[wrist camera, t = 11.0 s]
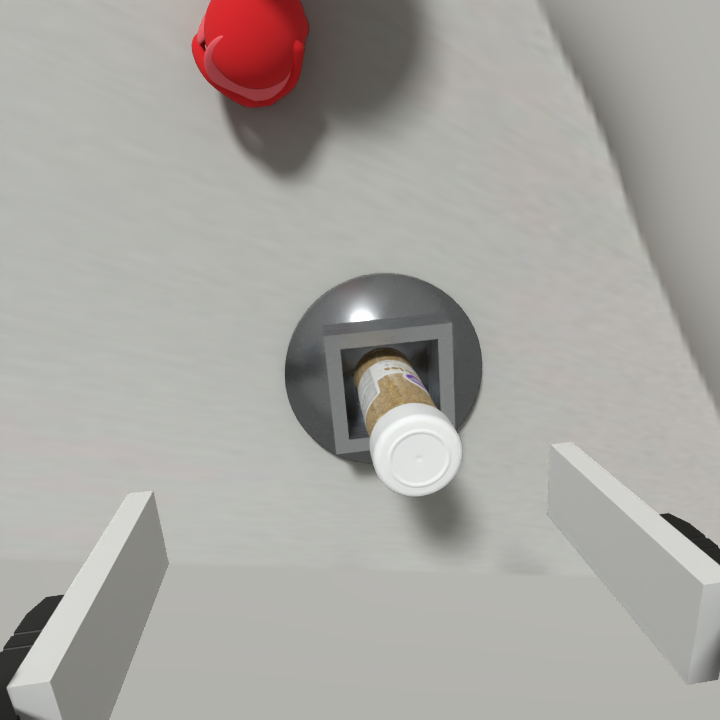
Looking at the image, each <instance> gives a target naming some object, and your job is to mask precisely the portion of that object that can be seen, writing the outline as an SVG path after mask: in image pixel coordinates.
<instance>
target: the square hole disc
mask: <svg viewBox="0 0 720 720" xmlns="http://www.w3.org/2000/svg"><path fill="white" fill-rule="evenodd" d="M377 348H393V349H396V350H399V351H400V352H401V353H403V354H404V355H405V356H406V357H407V358H408V360H409V361H410V363H411V365H412V368H413V370H414V371H415V372H416V374H417V375H418V377H419V379H420V380H421V382H422V384H423V385H424V387H425V388H426V390H427V392H428V393H429V395H430V397H431V400H432V401H433V403H434V404H435V406H436V407H437V409H438V410H440V411H441V412H442V413H443V414H445V415H446V417H447V418H448V419H449V420H450V422H451V423H452V425H453V426H454V428H455V430H457V429H458V427H459V426H460V425H461V424H462V423H463V421H464V420H465V418H466V417H467V415H468V413H469V412H470V410H471V408H472V406H473V404H474V402H475V399H476V396H477V393H478V390H479V386H480V381H481V375H482V357H481V349H480V344H479V340H478V337H477V334H476V332H475V329H474V327H473V325H472V323H471V321H470V320H469V318H468V316H467V315H466V314H465V312H464V311H463V309H462V308H461V307H460V306H459V305H458V304H457V303H456V302H455V301H454V300H453V299H452V298H451V297H450V296H448V295H447V294H446V293H445V292H443V291H442V290H440V289H438V288H437V287H435V286H433V285H431V284H430V283H428V282H425V281H423V280H420V279H418V278H415V277H411V276H407V275H403V274H394V273H375V274H369V275H363V276H360V277H357V278H353V279H350V280H348V281H346V282H343V283H341V284H339V285H337V286H335V287H334V288H332V289H331V290H329V291H327V292H326V293H325V294H323V295H322V296H321V297H320V298H319V299H317V300H316V301H315V302H314V303H313V304H312V305H311V307H310V308H309V309H308V310H307V311H306V312H305V314H304V315H303V317H302V318H301V319H300V321H299V323H298V325H297V327H296V328H295V330H294V332H293V335H292V338H291V340H290V343H289V347H288V352H287V356H286V363H285V384H286V390H287V395H288V399H289V402H290V405H291V407H292V410H293V412H294V414H295V416H296V418H297V420H298V421H299V423H300V424H301V425H302V427H303V428H304V430H305V431H306V432H307V433H308V434H309V435H310V436H311V437H312V438H313V439H314V440H315V441H316V442H318V443H319V444H320V445H321V446H322V447H324V448H326V449H327V450H329V451H331V452H332V453H334V454H336V455H339V456H341V457H343V458H346V459H349V460H352V461H356V462H361V463H367V464H373V462H372V458H371V454H370V444H369V443H370V437H369V434H368V432H367V429H366V425H365V421H364V417H363V413H362V409H361V405H360V401H359V396H358V391H357V388H356V386H355V384H354V371H355V368H356V365H357V363H358V361H359V360H360V359H361V358H362V357H363V356H364V355H365V354H366V353H368V352H369V351H371V350H374V349H377Z"/></svg>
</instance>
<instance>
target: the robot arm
mask: <svg viewBox="0 0 720 720" xmlns="http://www.w3.org/2000/svg"><path fill="white" fill-rule="evenodd" d="M547 515H548V517H549V518H550V519H551V520H552V522H553V523H554V524H555V525H556V526H557V528H558V529H559V530H560V531H561V532H562V534H563V535H564V536H565V537H566V539H567V540H568V541H569V542H570V543H571V545H572V546H573V547H574V548H575V549H576V551H577V552H578V553H579V554H580V556H581V557H582V558H583V559H584V560H585V562H586V563H587V564H588V565H589V566H590V568H591V569H592V570H593V571H594V573H595V574H596V575H597V576H598V577H599V579H600V580H601V581H602V582H603V583H604V585H605V586H606V587H607V588H608V590H609V591H610V592H611V593H612V594H613V596H614V597H615V598H616V599H617V600H618V601H619V603H620V604H621V605H622V607H623V608H624V609H625V610H626V611H627V612H628V614H629V615H630V616H631V617H632V619H633V620H634V621H635V622H636V624H637V625H638V626H639V627H640V628H641V630H642V631H643V632H644V633H645V634H646V636H647V637H648V638H649V639H650V640H651V642H652V643H653V644H654V645H655V646H656V648H657V649H658V650H659V651H660V653H661V654H662V655H663V656H664V657H665V659H666V660H667V661H668V662H669V663H670V665H671V666H672V667H673V668H674V670H675V671H676V672H677V673H678V674H679V676H680V677H681V678H682V679H683V681H684V682H685V683H686V684H687V685H688V684H694V683H700V682H706V681H712V680H718V678H719V672H720V549H719V548H718V546H717V545H716V544H715V543H714V542H712V541H711V540H710V539H709V538H706V537H705V535H704V534H702V533H701V532H700V531H698V530H697V529H696V528H695V527H693V526H692V525H691V524H690V523H688V522H686V521H684V520H682V519H680V518H677V517H675V516H673V515H671V514H669V513H667V514H658V513H656V512H655V511H654V510H653V509H652V508H650V507H649V506H648V505H647V504H646V503H644V502H643V501H642V500H641V499H640V498H638V497H637V496H636V495H635V494H634V493H632V492H631V491H630V490H629V489H628V488H626V487H625V486H624V485H623V484H622V483H620V482H619V481H618V480H617V479H616V478H614V477H613V476H612V475H611V474H610V473H608V472H607V471H606V470H605V469H604V468H602V467H601V466H600V465H599V464H598V463H596V462H595V461H594V460H593V459H592V458H590V457H589V456H588V455H587V454H586V453H584V452H583V451H582V450H581V449H580V448H578V447H577V446H576V445H575V444H573V443H572V442H568V443H560V444H551V445H550V462H549V481H548V501H547ZM168 564H169V562H168V558H167V553H166V548H165V543H164V539H163V534H162V529H161V525H160V520H159V515H158V511H157V506H156V501H155V497H154V492H153V491H146V492H138V493H129V494H128V495H127V496H126V498H125V499H124V501H123V503H122V504H121V506H120V507H119V509H118V511H117V512H116V514H115V515H114V517H113V519H112V520H111V522H110V523H109V525H108V527H107V528H106V530H105V531H104V533H103V535H102V536H101V538H100V539H99V541H98V543H97V544H96V546H95V547H94V549H93V551H92V552H91V554H90V555H89V557H88V558H87V560H86V562H85V563H84V565H83V566H82V568H81V570H80V571H79V573H78V574H77V576H76V578H75V579H74V581H73V582H72V584H71V586H70V587H69V589H68V590H67V592H66V594H65V595H58V596H51V597H46V598H45V599H44V600H42V601H41V602H40V603H39V604H38V605H37V606H36V607H34V608H33V609H32V610H31V611H30V612H29V613H27V615H26V616H25V618H24V619H23V620H22V622H21V623H20V625H19V626H18V627H17V629H16V630H15V632H14V636H11V638H10V639H9V640H8V642H7V643H6V645H5V646H4V649H3V652H0V720H109V718H110V716H111V713H112V710H113V708H114V705H115V703H116V700H117V698H118V695H119V692H120V690H121V687H122V684H123V682H124V679H125V677H126V674H127V671H128V669H129V666H130V663H131V661H132V658H133V656H134V653H135V651H136V648H137V645H138V643H139V640H140V637H141V635H142V632H143V630H144V627H145V624H146V622H147V619H148V617H149V614H150V611H151V609H152V606H153V603H154V601H155V598H156V596H157V593H158V591H159V588H160V585H161V583H162V580H163V577H164V575H165V572H166V570H167V567H168Z"/></svg>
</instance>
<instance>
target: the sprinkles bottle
mask: <svg viewBox="0 0 720 720" xmlns="http://www.w3.org/2000/svg"><path fill="white" fill-rule="evenodd" d="M354 384H355V386H356V388H357V391H358V396H359V401H360V405H361V409H362V413H363V417H364V421H365V425H366V429H367V432H368V434H369V437H370V443H369V444H370V454H371V458H372V462H373V465H374V468H375V471H376V474H377V475H378V477H379V479H380V480H381V482H382V483H383V484H384V485H385V486H386V487H388V488H389V489H390V490H392V491H393V492H396V493H398V494H401V495H404V496H411V497H419V496H425V495H429V494H432V493H434V492H437V491H439V490H440V489H442V488H443V487H445V486H446V485H447V484H448V483H449V482H450V481H451V480H452V479H453V478H454V476H455V475H456V473H457V472H458V469H459V467H460V464H461V461H462V444H461V440H460V438H459V435H458V434H457V432H456V430H455V428H454V426H453V425H452V423H451V422H450V420H449V419H448V418H447V417H446V415H445V414H443V413H442V412H441V411H440V410H438V409H437V407H436V406H435V404H434V403H433V401H432V400H431V397H430V395H429V393H428V392H427V390H426V388H425V387H424V385H423V384H422V382H421V380H420V379H419V377H418V375H417V374H416V372H415V371H414V370H413V368H412V365H411V363H410V361H409V360H408V358H407V357H406V356H405V355H404V354H403V353H401V352H400V351H399V350H396V349H393V348H377V349H374V350H371V351H369V352H368V353H366V354H365V355H364V356H363V357H362V358H361V359H360V360H359V361H358V363H357V365H356V368H355V371H354Z"/></svg>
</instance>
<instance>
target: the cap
mask: <svg viewBox="0 0 720 720" xmlns="http://www.w3.org/2000/svg"><path fill="white" fill-rule="evenodd" d="M308 33H309V24H308V21H307V18H306V16H305V14H304V10H303V7H302V4H301V2H300V0H211V1H210V4H209V6H208V9H207V12H206V14H205V15H204V17H203V19H202V22H201V24H200V27H199V30H198V33H197V34H196V35H195V37H194V38H193V41H192V53H193V57H194V59H195V62H196V64H197V66H198V68H199V70H200V72H201V73H202V75H203V76H204V77H205V79H206V80H207V81H208V82H209V83H210V84H211V85H212V86H213V87H214V88H216V89H217V90H218V91H220V92H221V93H222V94H224V95H225V96H227V97H228V98H230V99H231V100H233V101H235V102H236V103H238V104H240V105H243V106H246V107H251V108H255V107H262V106H270V105H272V104H274V103H275V102H276V101H277V100H279V99H281V98H282V97H284V96H285V95H287V94H288V93H289V92H290V91H291V90H292V89H293V88H294V87H295V86H296V84H297V82H298V80H299V77H300V73H301V69H302V62H303V56H304V50H305V49H304V46H305V41H306V36H307V35H308ZM205 45H206V47H207V49H206V48H205Z"/></svg>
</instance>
